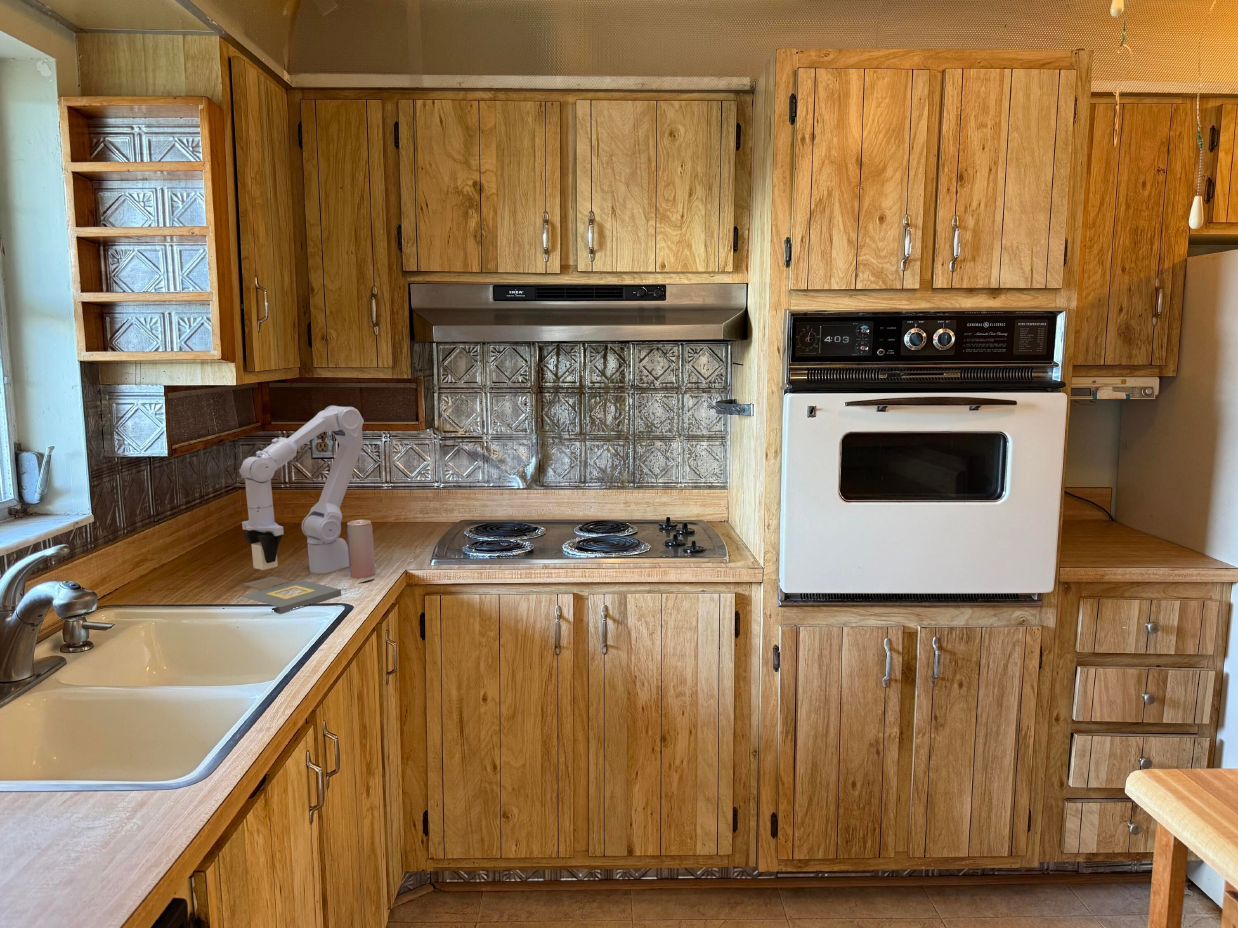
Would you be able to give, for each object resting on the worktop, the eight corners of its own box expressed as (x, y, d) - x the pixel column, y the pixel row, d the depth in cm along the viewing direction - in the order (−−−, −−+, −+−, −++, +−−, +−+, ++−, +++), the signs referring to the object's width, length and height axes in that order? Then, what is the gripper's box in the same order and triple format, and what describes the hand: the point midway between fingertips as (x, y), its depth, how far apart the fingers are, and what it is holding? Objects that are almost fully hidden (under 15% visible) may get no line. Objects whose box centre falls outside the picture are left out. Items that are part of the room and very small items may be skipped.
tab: (272, 581, 219) (272, 576, 218) (291, 586, 214) (291, 580, 214) (243, 589, 212) (242, 583, 212) (261, 594, 207) (261, 588, 207)
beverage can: (346, 580, 218) (342, 522, 216) (368, 575, 222) (364, 518, 220) (358, 585, 214) (354, 525, 211) (380, 580, 218) (376, 521, 216)
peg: (268, 564, 215) (266, 540, 214) (277, 566, 213) (275, 542, 212) (253, 567, 212) (251, 543, 211) (262, 570, 209) (260, 545, 209)
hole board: (301, 585, 215) (300, 578, 215) (341, 595, 206) (340, 588, 205) (240, 602, 202) (240, 595, 202) (280, 613, 193) (280, 606, 193)
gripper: (228, 506, 211) (233, 560, 213) (262, 512, 203) (267, 568, 205) (255, 501, 217) (260, 554, 219) (289, 506, 208) (294, 561, 210)
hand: (265, 560), depth 212 cm, fingers closed on peg, 4 cm apart
